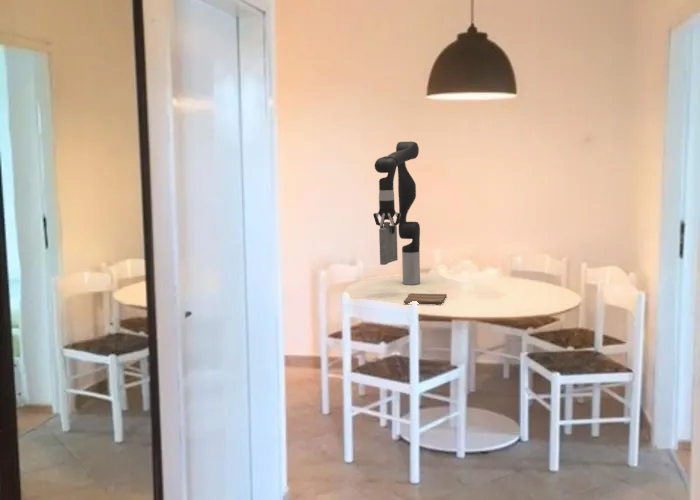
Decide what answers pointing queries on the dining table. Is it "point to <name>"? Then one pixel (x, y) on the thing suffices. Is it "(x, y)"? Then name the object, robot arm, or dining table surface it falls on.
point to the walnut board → (426, 298)
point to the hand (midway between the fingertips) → (387, 233)
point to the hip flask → (388, 244)
